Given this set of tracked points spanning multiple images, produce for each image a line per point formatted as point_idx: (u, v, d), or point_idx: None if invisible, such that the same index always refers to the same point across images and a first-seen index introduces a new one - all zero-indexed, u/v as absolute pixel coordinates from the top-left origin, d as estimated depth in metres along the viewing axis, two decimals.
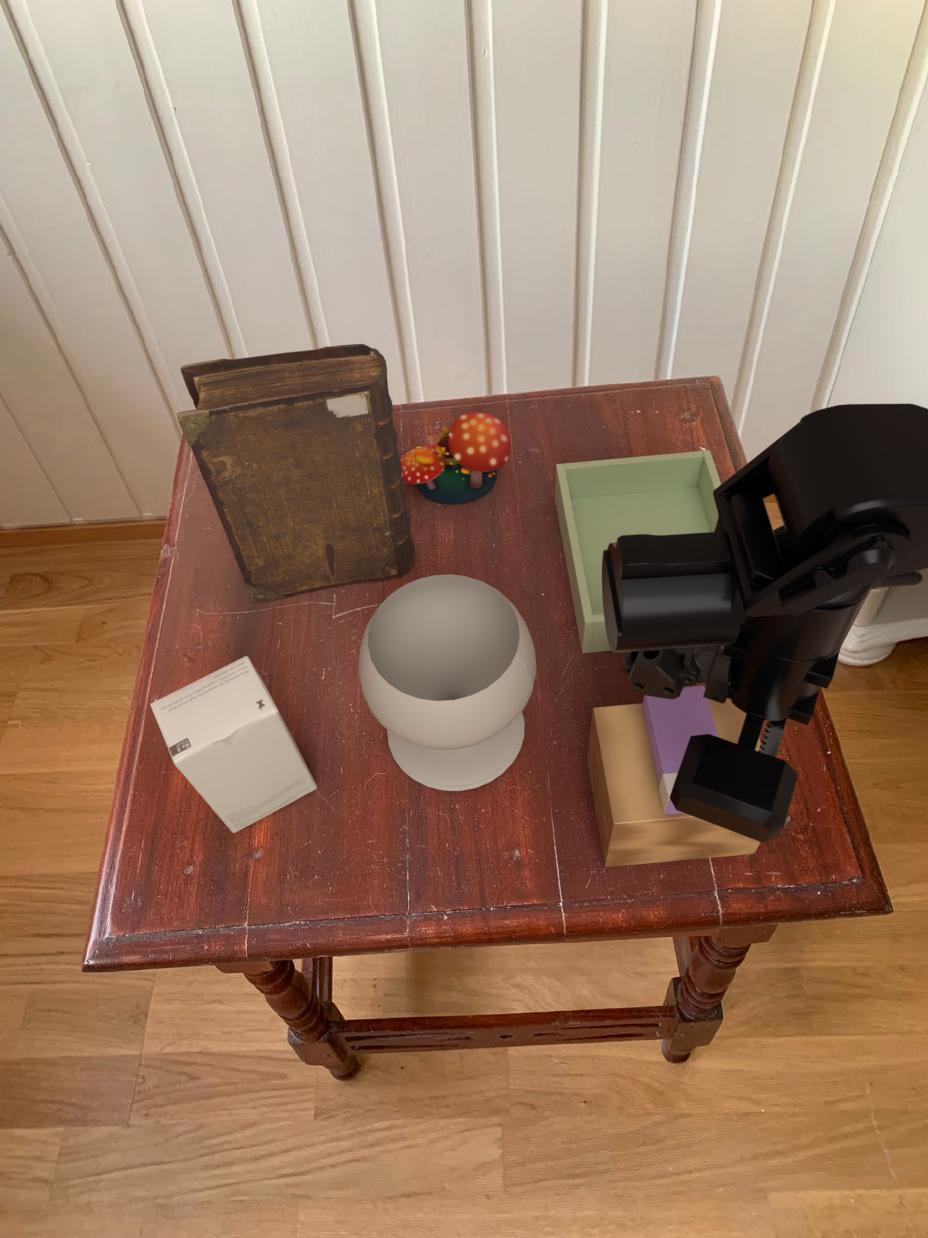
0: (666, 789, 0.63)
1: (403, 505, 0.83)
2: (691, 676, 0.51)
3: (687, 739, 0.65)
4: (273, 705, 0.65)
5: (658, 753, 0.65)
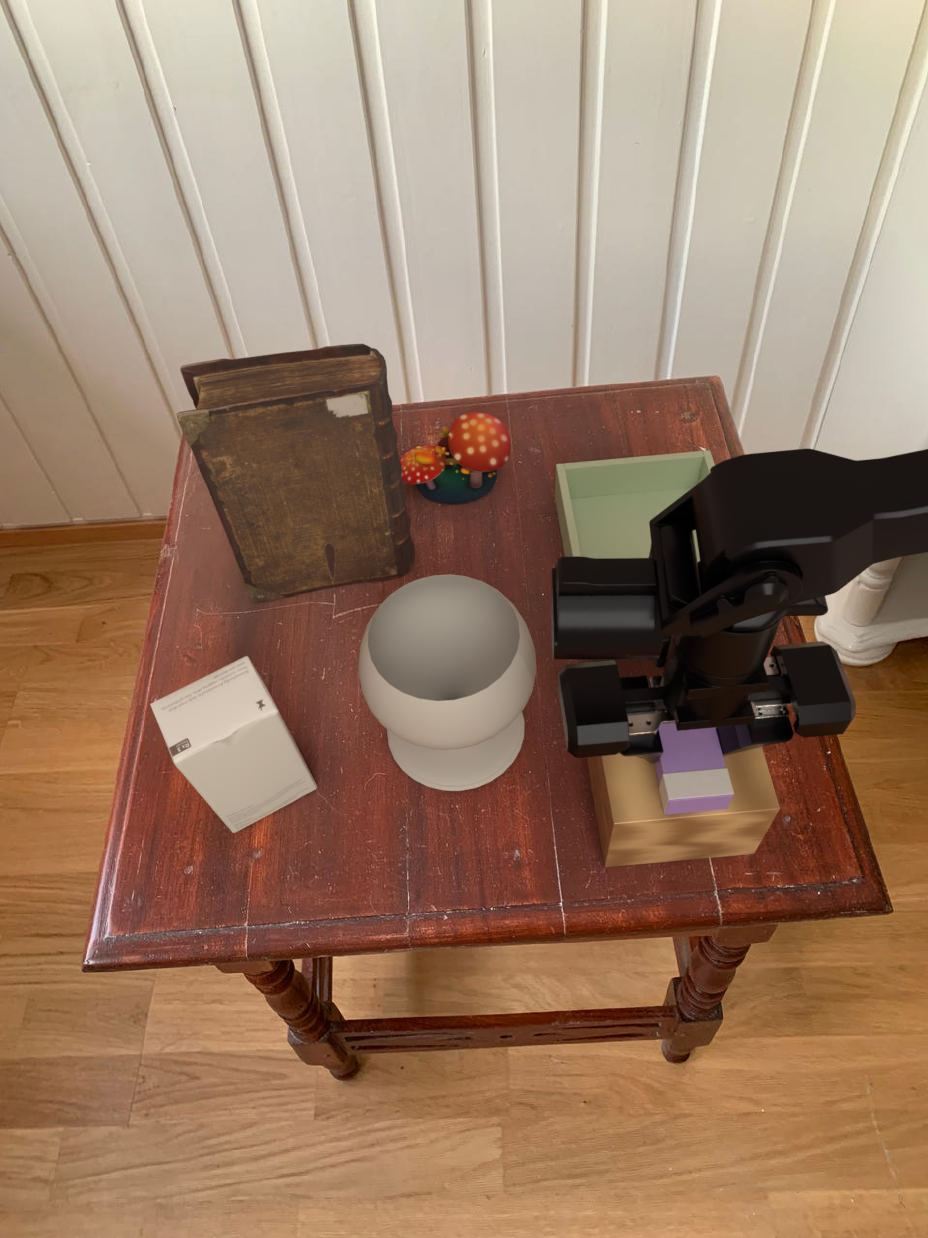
0: (666, 789, 0.63)
1: (403, 505, 0.83)
2: None
3: (687, 739, 0.65)
4: (273, 705, 0.65)
5: None
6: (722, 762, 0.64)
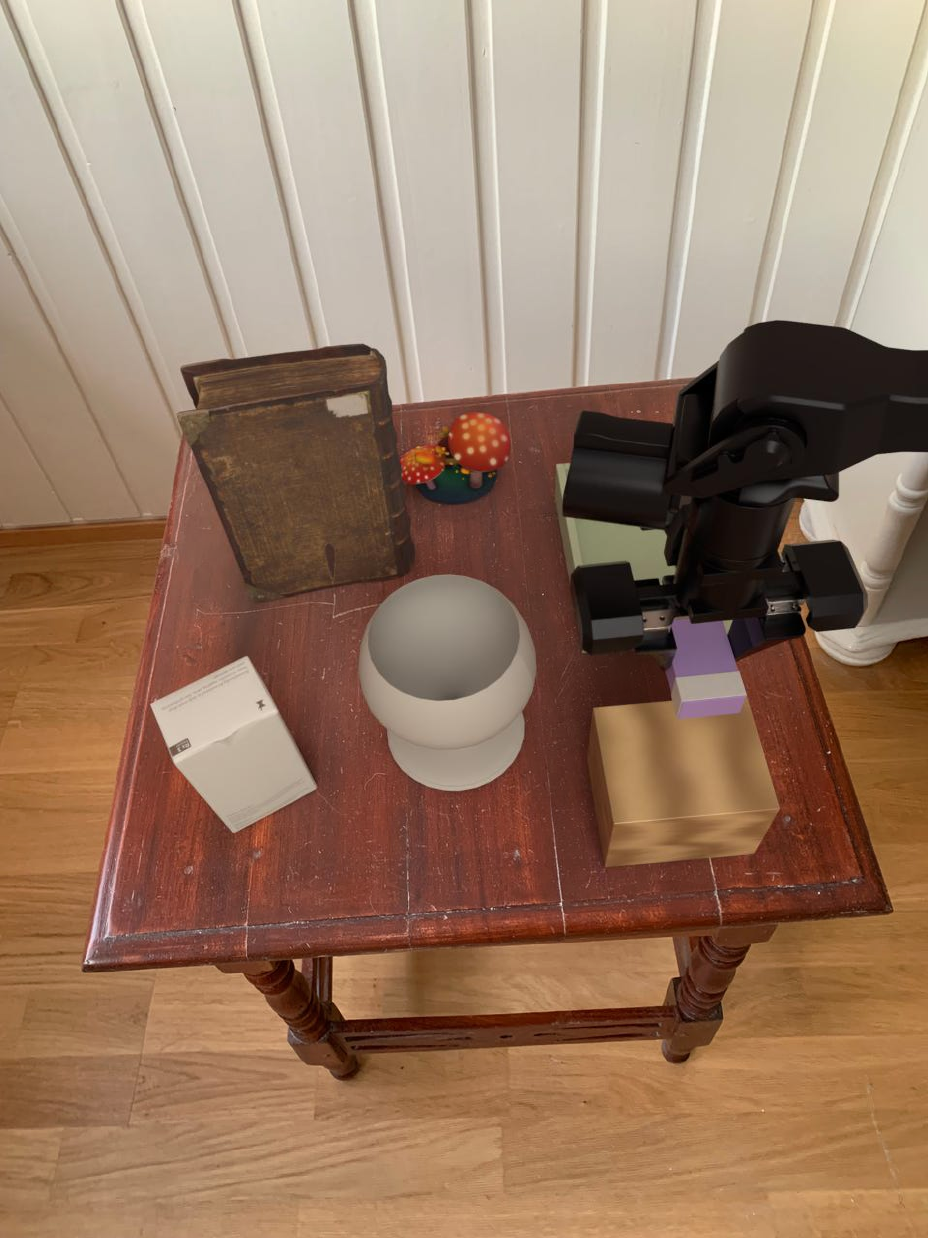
0: (679, 692, 0.64)
1: (403, 505, 0.83)
2: None
3: (698, 645, 0.66)
4: (273, 705, 0.65)
5: None
6: (734, 665, 0.64)
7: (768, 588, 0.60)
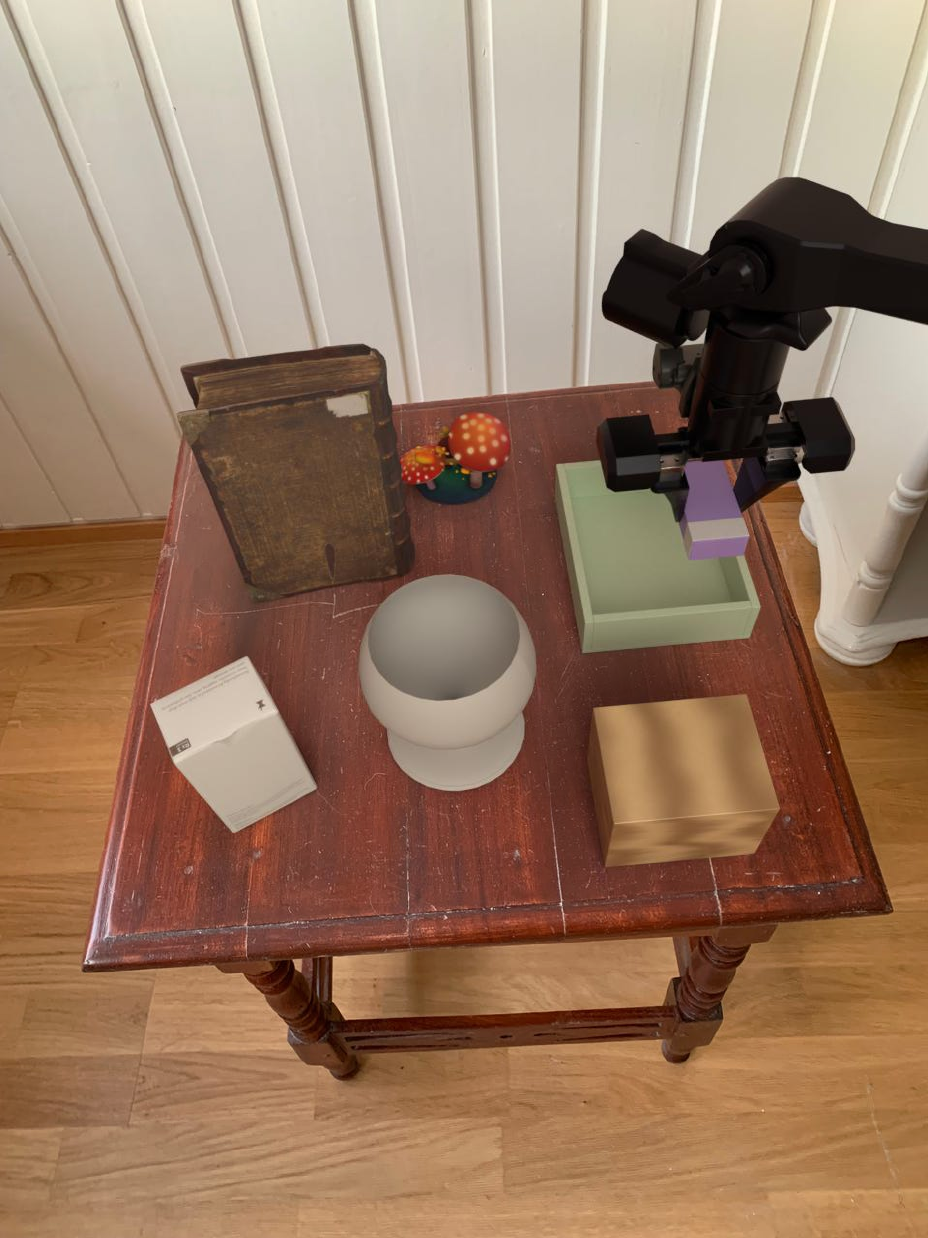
0: (690, 533, 0.73)
1: (403, 505, 0.83)
2: (674, 376, 0.69)
3: (707, 497, 0.75)
4: (273, 705, 0.65)
5: None
6: (739, 513, 0.74)
7: (769, 435, 0.69)
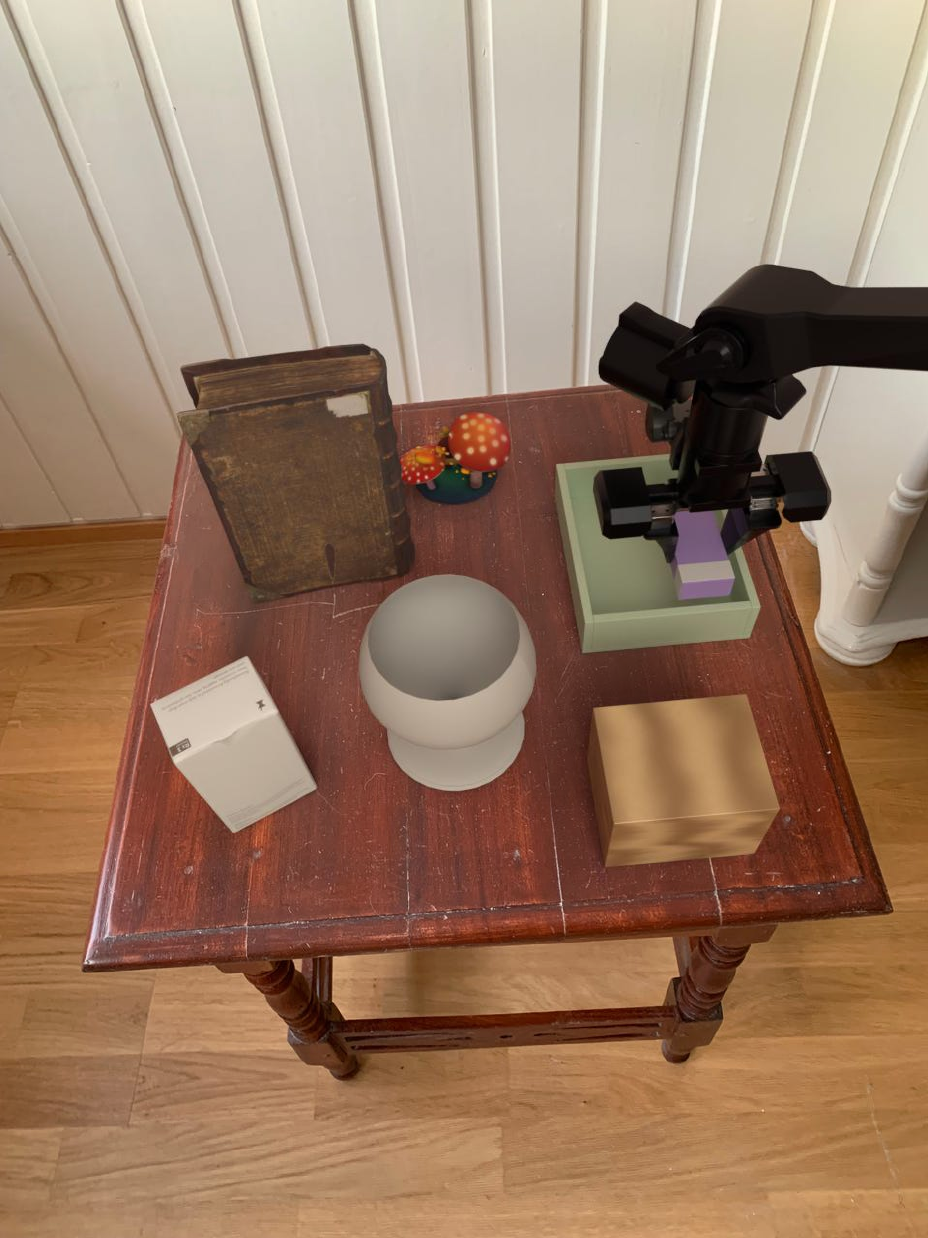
0: (680, 575, 0.79)
1: (403, 505, 0.83)
2: (665, 432, 0.75)
3: (696, 540, 0.81)
4: (273, 705, 0.65)
5: None
6: (725, 556, 0.79)
7: (752, 487, 0.74)
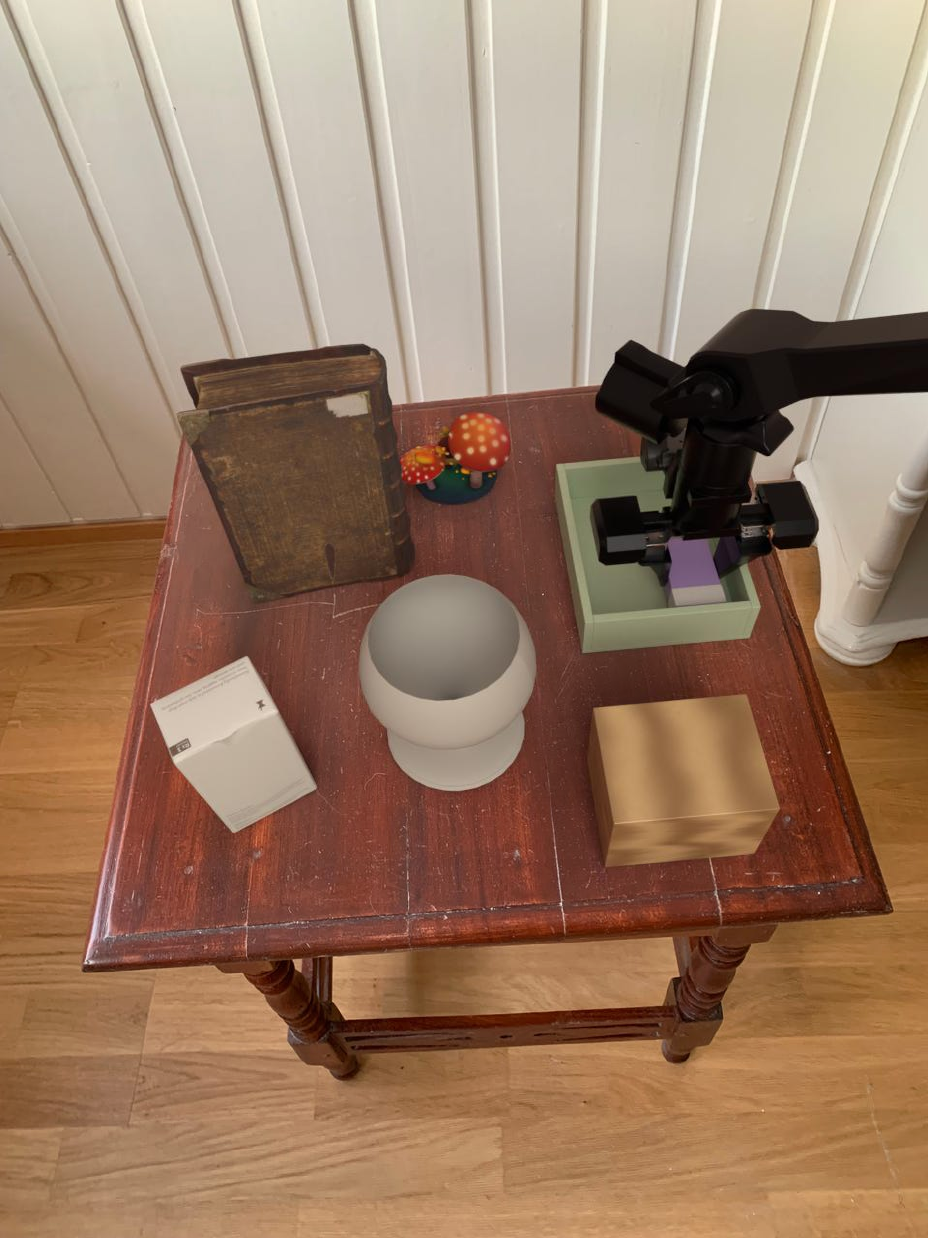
0: (674, 599, 0.81)
1: (403, 505, 0.83)
2: (659, 462, 0.78)
3: (690, 565, 0.84)
4: (273, 705, 0.65)
5: None
6: (717, 580, 0.82)
7: (743, 515, 0.77)
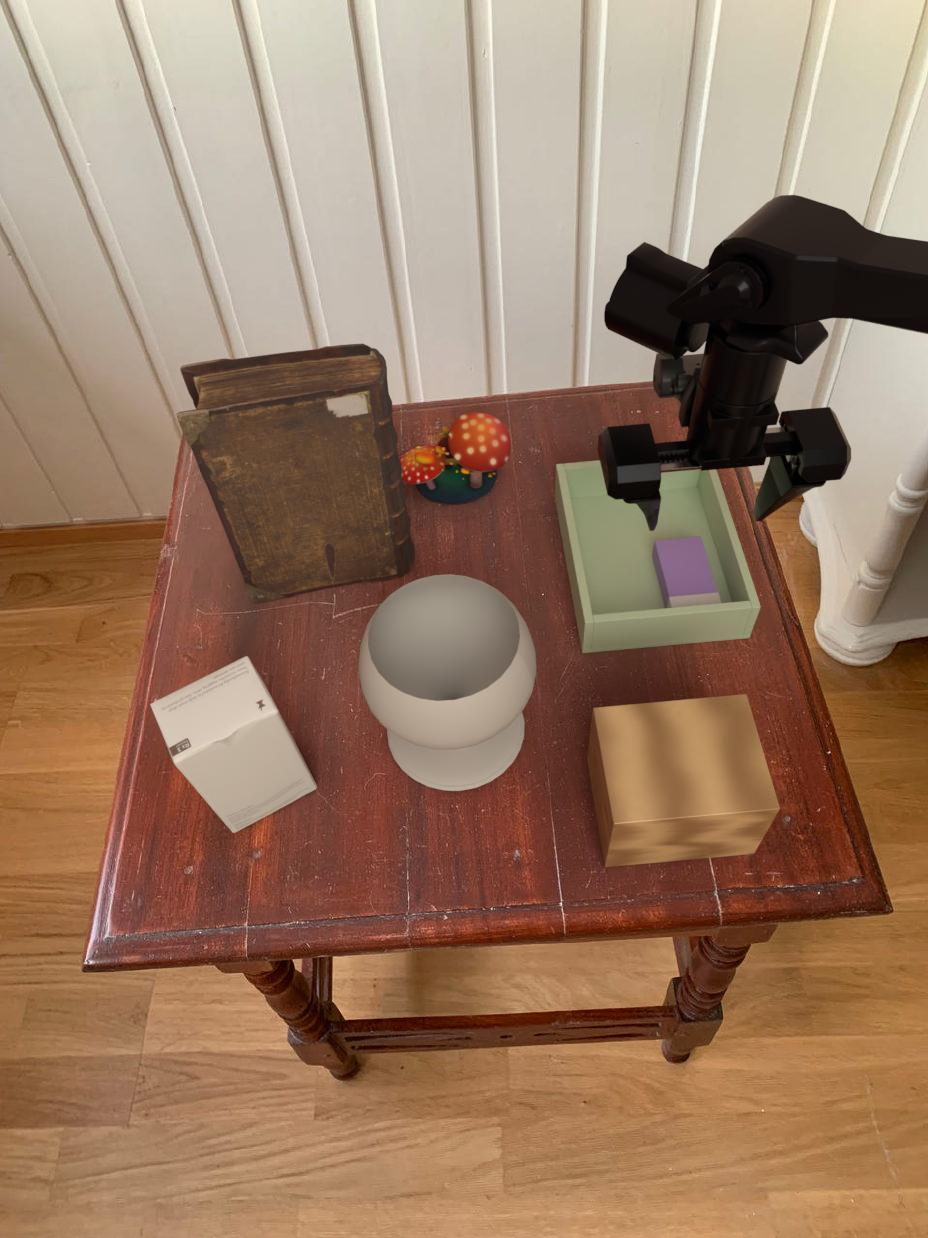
0: (671, 607, 0.82)
1: (403, 505, 0.83)
2: (674, 385, 0.71)
3: (687, 573, 0.85)
4: (273, 705, 0.65)
5: (665, 583, 0.84)
6: (714, 588, 0.83)
7: (767, 444, 0.70)
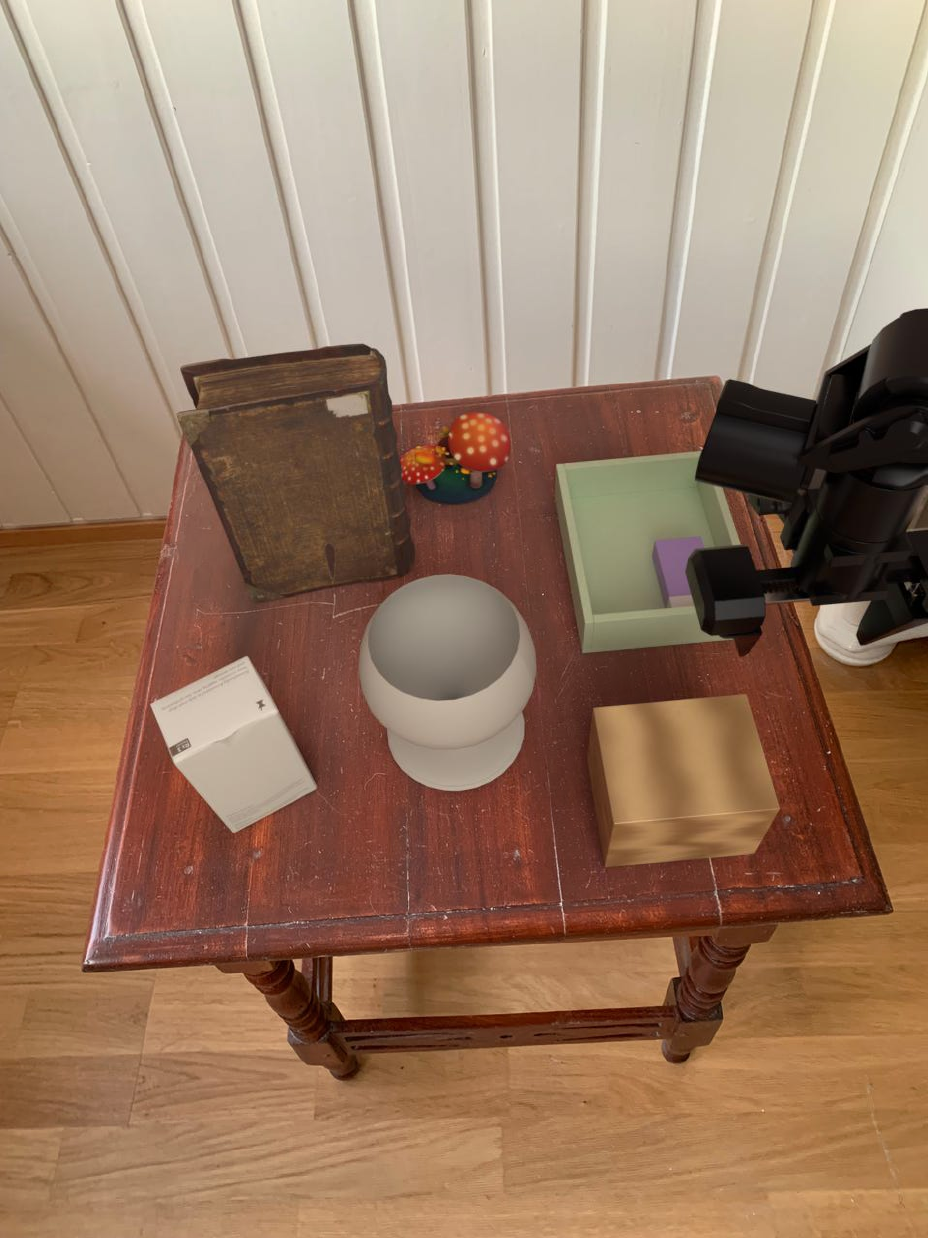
0: (671, 607, 0.82)
1: (403, 505, 0.83)
2: (777, 504, 0.61)
3: None
4: (273, 705, 0.65)
5: (665, 583, 0.84)
6: None
7: (885, 572, 0.61)
